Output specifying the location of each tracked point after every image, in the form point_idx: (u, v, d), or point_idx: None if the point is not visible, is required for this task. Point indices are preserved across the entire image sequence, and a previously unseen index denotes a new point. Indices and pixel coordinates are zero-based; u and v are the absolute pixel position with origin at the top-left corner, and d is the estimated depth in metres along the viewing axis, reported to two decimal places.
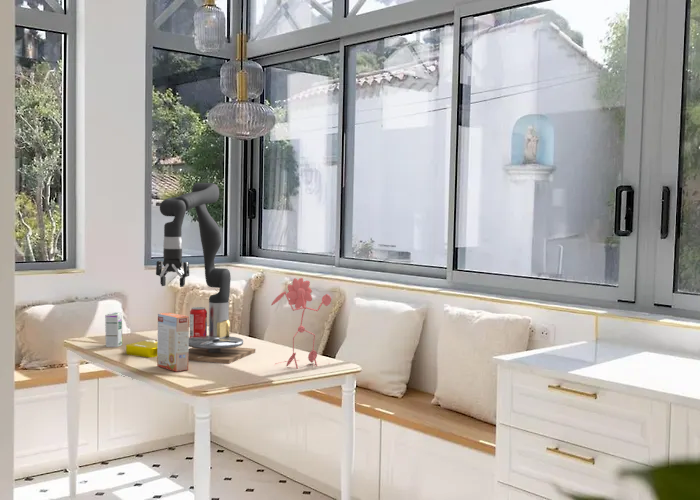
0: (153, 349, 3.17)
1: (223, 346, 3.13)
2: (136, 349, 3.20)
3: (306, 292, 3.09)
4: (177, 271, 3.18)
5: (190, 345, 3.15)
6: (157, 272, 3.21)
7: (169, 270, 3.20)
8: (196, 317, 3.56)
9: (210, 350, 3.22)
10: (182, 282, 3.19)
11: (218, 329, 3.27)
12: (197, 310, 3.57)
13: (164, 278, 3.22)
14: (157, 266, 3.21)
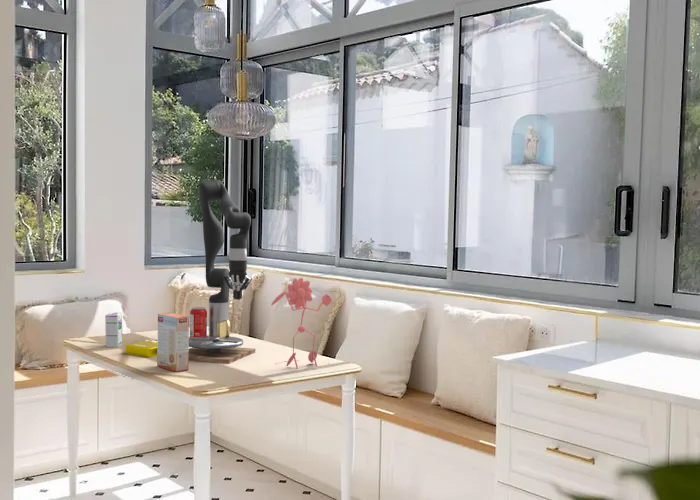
0: (152, 349, 3.18)
1: (223, 346, 3.13)
2: (135, 349, 3.20)
3: (306, 292, 3.09)
4: None
5: (190, 345, 3.15)
6: None
7: None
8: (196, 317, 3.56)
9: (210, 350, 3.22)
10: None
11: (218, 329, 3.27)
12: (197, 310, 3.57)
13: None
14: None
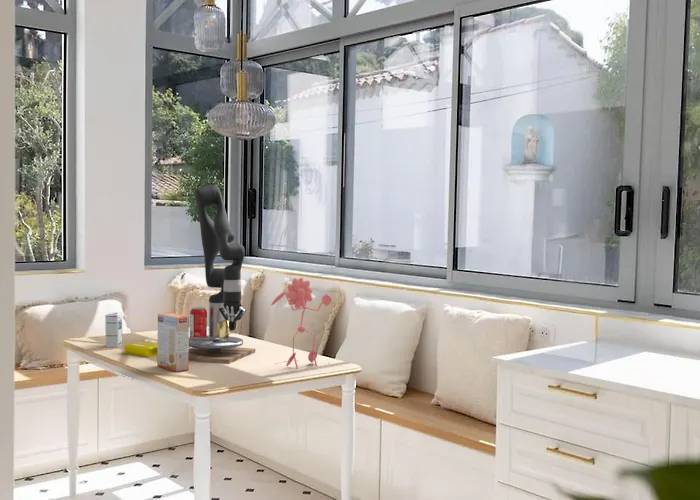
0: (151, 349, 3.18)
1: (224, 346, 3.13)
2: (134, 349, 3.21)
3: (306, 292, 3.08)
4: None
5: (190, 345, 3.15)
6: None
7: None
8: (196, 317, 3.56)
9: (210, 350, 3.22)
10: None
11: (218, 329, 3.27)
12: (197, 310, 3.57)
13: None
14: None
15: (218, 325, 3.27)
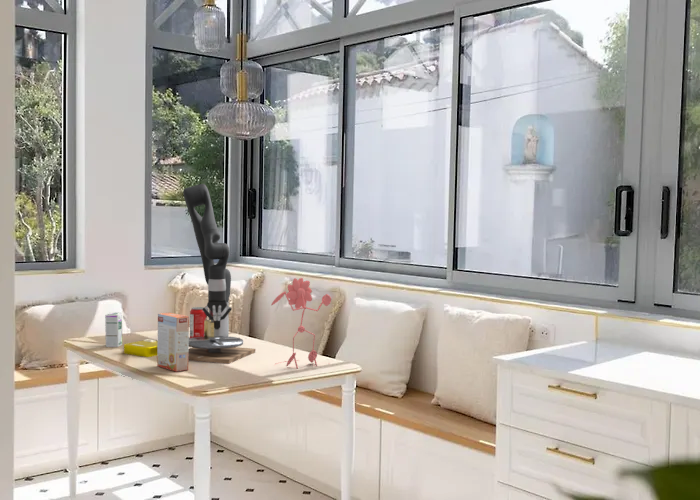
0: (150, 348, 3.18)
1: (239, 343, 3.20)
2: (133, 349, 3.21)
3: (306, 292, 3.08)
4: None
5: (208, 347, 3.12)
6: None
7: None
8: (196, 317, 3.56)
9: (210, 350, 3.22)
10: None
11: (212, 329, 3.27)
12: (197, 310, 3.57)
13: None
14: None
15: (212, 325, 3.27)
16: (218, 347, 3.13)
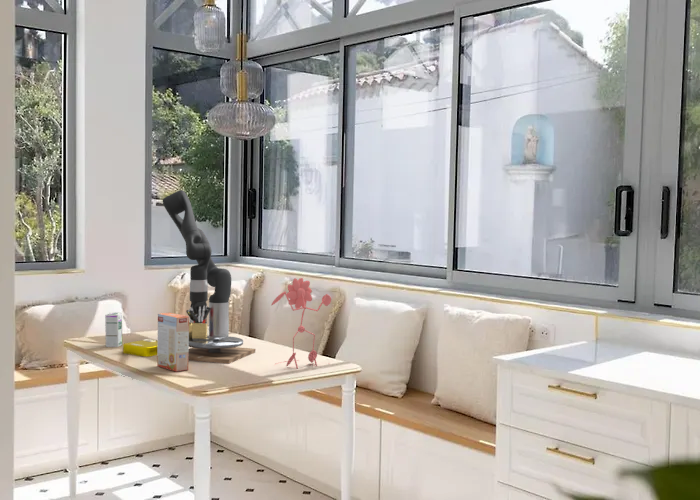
0: (149, 348, 3.19)
1: None
2: (132, 348, 3.21)
3: (306, 292, 3.08)
4: None
5: (233, 345, 3.16)
6: None
7: None
8: None
9: (210, 350, 3.22)
10: None
11: (206, 330, 3.24)
12: None
13: None
14: None
15: (206, 326, 3.24)
16: (239, 344, 3.20)
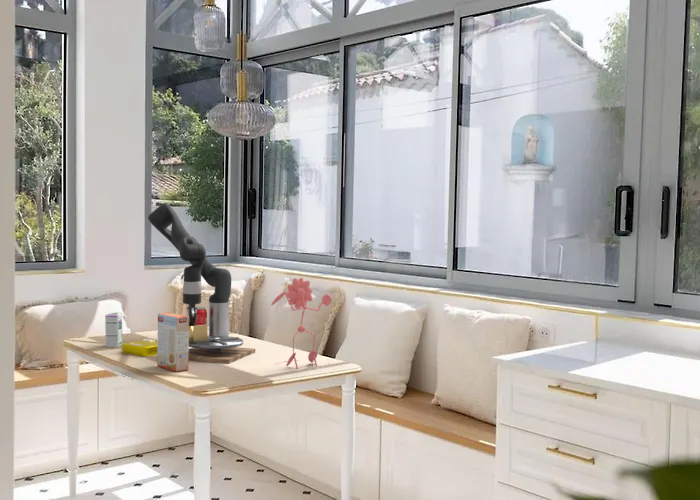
0: (147, 348, 3.19)
1: None
2: (131, 348, 3.22)
3: (306, 292, 3.08)
4: None
5: None
6: None
7: None
8: (196, 317, 3.56)
9: (210, 350, 3.22)
10: None
11: None
12: (197, 310, 3.57)
13: (192, 325, 3.21)
14: None
15: None
16: None
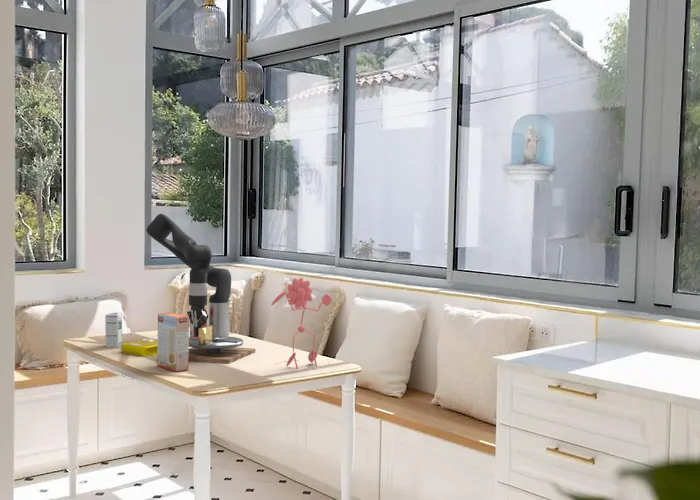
0: (146, 348, 3.19)
1: None
2: (131, 348, 3.22)
3: (306, 292, 3.09)
4: (195, 319, 3.14)
5: None
6: (191, 321, 3.17)
7: None
8: None
9: (210, 350, 3.22)
10: (197, 331, 3.15)
11: None
12: None
13: None
14: (189, 316, 3.19)
15: None
16: None
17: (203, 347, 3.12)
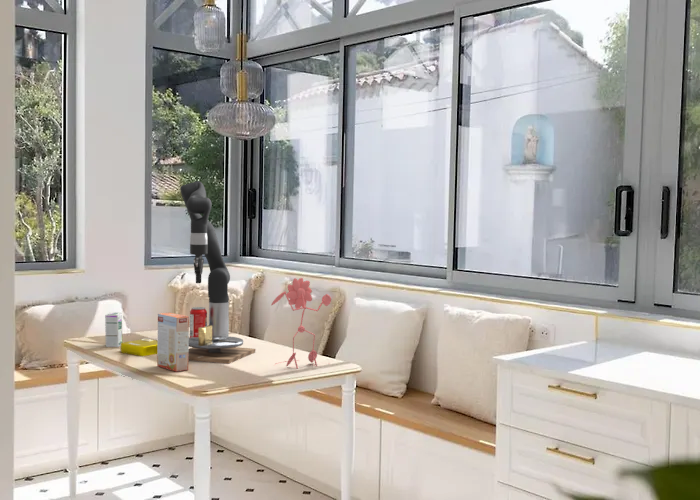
0: (145, 348, 3.20)
1: None
2: (129, 348, 3.23)
3: (306, 292, 3.09)
4: None
5: None
6: None
7: None
8: (196, 317, 3.56)
9: (210, 350, 3.22)
10: (196, 278, 3.35)
11: None
12: (197, 310, 3.57)
13: None
14: None
15: None
16: None
17: (203, 347, 3.12)
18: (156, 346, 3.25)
